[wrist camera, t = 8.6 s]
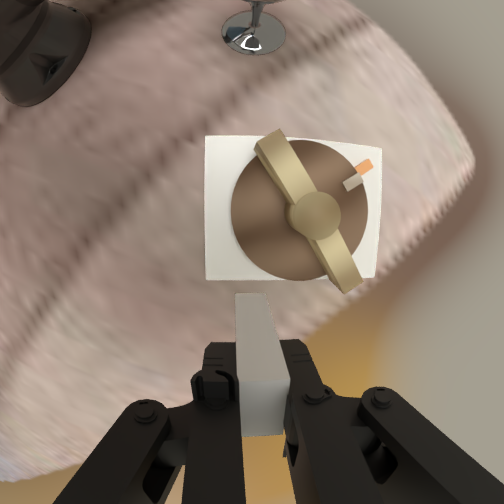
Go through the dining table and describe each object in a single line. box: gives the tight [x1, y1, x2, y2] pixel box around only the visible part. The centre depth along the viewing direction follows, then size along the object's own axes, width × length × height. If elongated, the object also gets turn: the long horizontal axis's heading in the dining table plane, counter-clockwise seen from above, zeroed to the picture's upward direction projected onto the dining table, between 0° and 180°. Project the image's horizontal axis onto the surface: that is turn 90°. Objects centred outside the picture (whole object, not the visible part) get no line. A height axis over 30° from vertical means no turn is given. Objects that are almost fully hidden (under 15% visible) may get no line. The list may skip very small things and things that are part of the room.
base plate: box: [204, 136, 382, 280], centre depth 26 cm, size 14×18×2 cm
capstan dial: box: [231, 129, 368, 294], centre depth 23 cm, size 14×13×6 cm
